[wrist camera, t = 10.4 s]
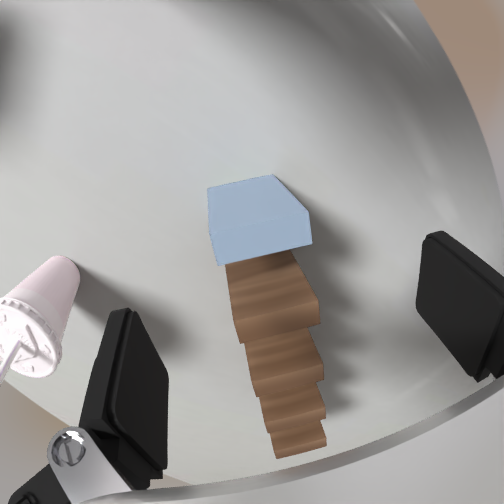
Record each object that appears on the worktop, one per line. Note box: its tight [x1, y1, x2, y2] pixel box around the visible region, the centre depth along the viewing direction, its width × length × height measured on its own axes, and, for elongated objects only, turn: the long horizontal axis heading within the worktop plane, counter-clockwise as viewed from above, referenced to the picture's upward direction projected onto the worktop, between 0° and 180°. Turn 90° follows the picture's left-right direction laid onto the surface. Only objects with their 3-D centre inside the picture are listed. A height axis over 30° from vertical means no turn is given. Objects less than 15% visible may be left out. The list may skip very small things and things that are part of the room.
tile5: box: [270, 420, 327, 459], centre depth 30 cm, size 2×5×9 cm, turn 101°
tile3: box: [244, 327, 324, 397], centre depth 25 cm, size 2×5×9 cm, turn 101°
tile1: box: [207, 174, 312, 266], centre depth 20 cm, size 2×5×9 cm, turn 101°
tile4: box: [259, 382, 326, 433], centre depth 28 cm, size 2×5×9 cm, turn 101°
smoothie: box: [0, 256, 80, 385], centre depth 19 cm, size 6×6×14 cm
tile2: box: [225, 249, 320, 344], centre depth 23 cm, size 2×5×9 cm, turn 101°
